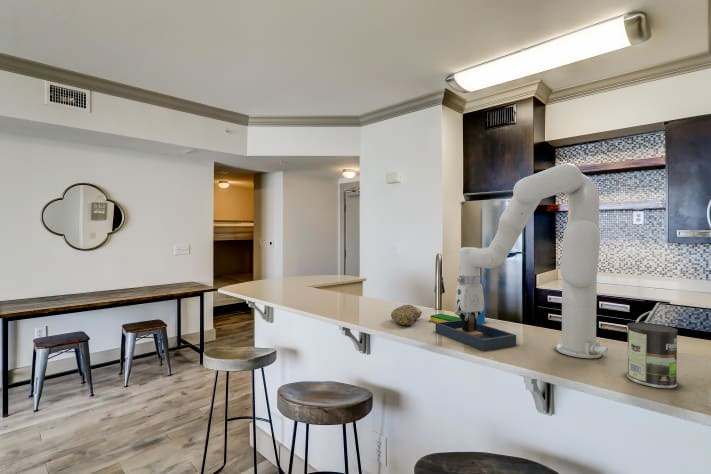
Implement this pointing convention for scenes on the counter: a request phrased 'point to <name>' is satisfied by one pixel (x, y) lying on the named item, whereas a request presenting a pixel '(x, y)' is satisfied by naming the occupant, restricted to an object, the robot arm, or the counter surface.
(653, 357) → the coffee can
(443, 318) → the dish sponge
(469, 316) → the two-tone wood block
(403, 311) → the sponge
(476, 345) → the baking dish
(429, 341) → the counter surface
